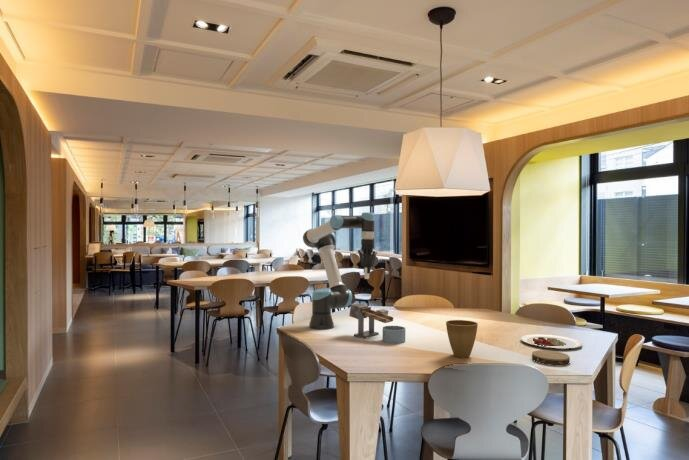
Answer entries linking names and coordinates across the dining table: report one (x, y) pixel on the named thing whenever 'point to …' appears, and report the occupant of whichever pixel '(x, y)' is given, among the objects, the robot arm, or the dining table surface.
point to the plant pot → (461, 336)
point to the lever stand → (361, 331)
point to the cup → (394, 334)
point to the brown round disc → (550, 357)
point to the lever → (370, 313)
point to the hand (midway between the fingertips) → (366, 278)
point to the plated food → (550, 340)
